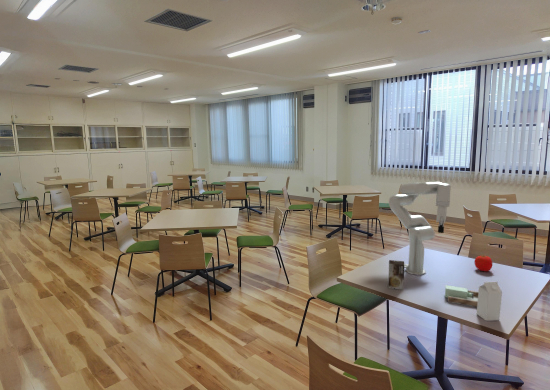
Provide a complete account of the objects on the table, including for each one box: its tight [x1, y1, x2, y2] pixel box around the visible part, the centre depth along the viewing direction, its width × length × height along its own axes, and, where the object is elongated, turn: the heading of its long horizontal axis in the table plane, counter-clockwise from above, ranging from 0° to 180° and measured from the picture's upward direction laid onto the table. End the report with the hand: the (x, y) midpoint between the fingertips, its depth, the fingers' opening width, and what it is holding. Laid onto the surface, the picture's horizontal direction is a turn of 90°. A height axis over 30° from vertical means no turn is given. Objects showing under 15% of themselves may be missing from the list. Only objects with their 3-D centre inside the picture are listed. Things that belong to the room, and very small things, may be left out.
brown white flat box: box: [447, 289, 479, 308], centre depth 189 cm, size 20×14×4 cm
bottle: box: [444, 284, 474, 299], centre depth 190 cm, size 5×5×14 cm
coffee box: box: [387, 259, 405, 291], centre depth 206 cm, size 9×6×16 cm
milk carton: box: [476, 281, 503, 322], centre depth 169 cm, size 7×7×19 cm
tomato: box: [474, 254, 493, 272], centre depth 232 cm, size 10×11×11 cm
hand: (440, 232), depth 208 cm, fingers closed
